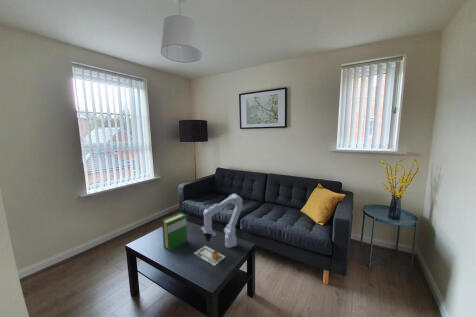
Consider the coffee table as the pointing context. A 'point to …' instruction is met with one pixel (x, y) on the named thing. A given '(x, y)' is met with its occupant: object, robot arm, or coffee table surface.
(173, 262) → the coffee table surface
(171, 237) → the hardback book
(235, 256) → the coffee table surface
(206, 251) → the white flat tray
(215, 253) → the lever
